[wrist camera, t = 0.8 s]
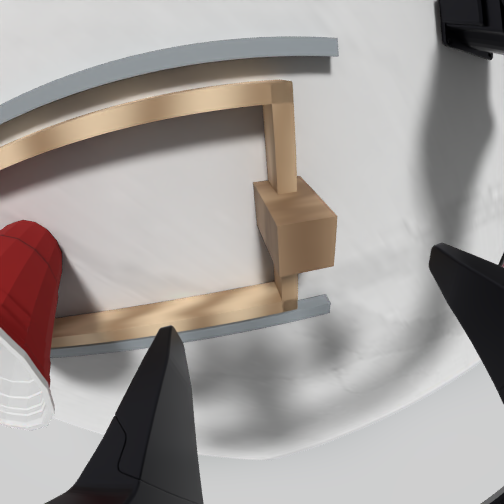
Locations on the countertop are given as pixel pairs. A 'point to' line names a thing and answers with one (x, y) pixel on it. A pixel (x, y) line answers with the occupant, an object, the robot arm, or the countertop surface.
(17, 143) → the wooden rectangular frame
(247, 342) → the countertop surface
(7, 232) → the plastic cup
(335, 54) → the lane rails
